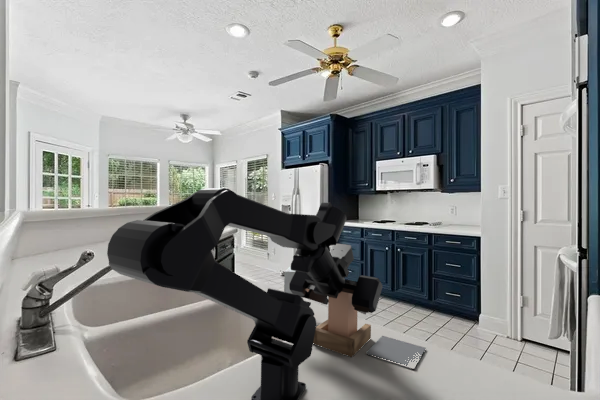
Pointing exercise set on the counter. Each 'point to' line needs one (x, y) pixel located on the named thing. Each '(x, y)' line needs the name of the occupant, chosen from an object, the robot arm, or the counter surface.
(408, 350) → the mat
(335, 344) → the u-shaped frame
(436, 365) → the counter surface
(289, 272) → the skincare box
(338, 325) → the block
